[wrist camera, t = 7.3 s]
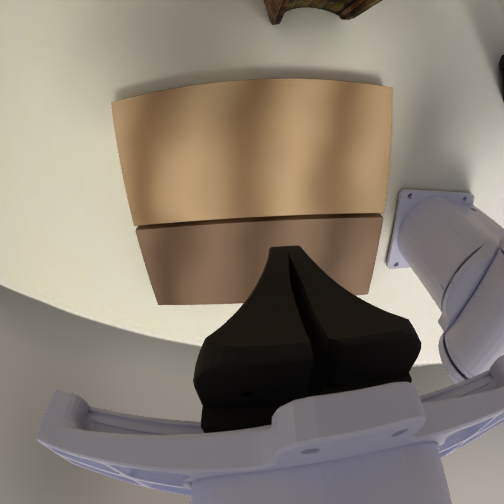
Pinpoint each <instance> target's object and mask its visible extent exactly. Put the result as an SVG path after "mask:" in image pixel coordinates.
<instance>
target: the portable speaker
mask: <svg viewBox="0 0 504 504" xmlns="http://www.w3.org/2000/svg"><path fill="white" fill-rule="evenodd" d="M499 64H500V65H501V66H502V67H503V71H504V55H502V58H501V60H500V63H499Z"/></svg>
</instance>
